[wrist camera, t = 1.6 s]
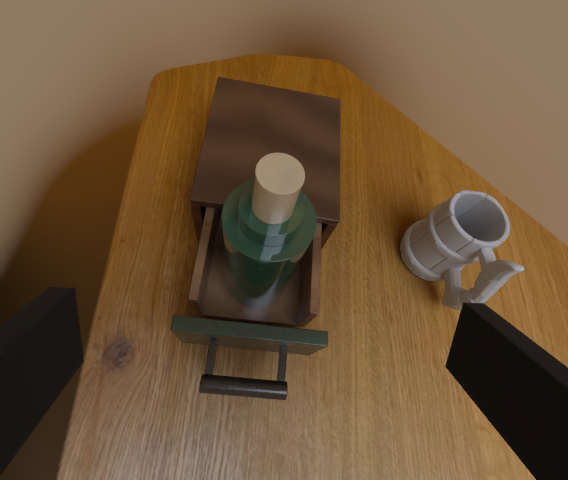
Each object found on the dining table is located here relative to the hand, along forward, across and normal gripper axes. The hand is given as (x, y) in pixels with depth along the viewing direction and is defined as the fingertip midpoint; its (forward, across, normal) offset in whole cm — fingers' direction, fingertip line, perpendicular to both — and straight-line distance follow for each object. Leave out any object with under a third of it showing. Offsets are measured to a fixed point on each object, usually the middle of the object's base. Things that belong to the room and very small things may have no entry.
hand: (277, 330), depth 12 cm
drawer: (+22, 0, -10) cm, 24 cm away
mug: (+26, +21, -8) cm, 34 cm away
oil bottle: (+22, 0, -8) cm, 24 cm away
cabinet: (+32, +1, -1) cm, 32 cm away
